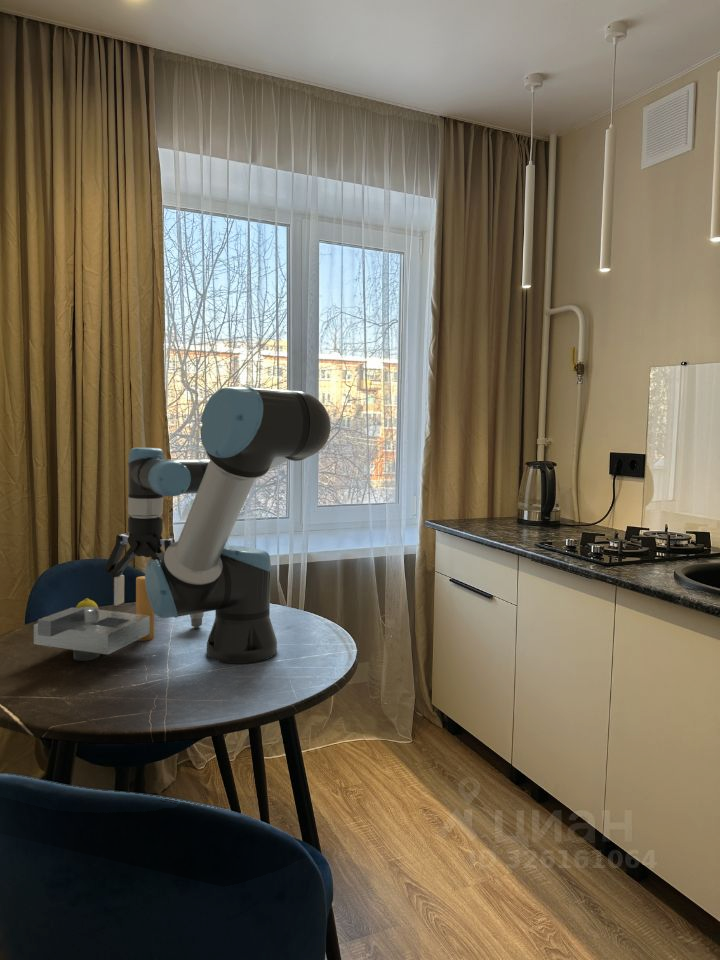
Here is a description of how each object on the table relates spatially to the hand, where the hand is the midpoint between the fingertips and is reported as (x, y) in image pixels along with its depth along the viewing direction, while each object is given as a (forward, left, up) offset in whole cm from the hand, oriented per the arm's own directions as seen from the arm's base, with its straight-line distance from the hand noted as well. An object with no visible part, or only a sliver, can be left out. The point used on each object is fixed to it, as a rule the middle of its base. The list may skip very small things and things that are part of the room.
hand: (144, 607), depth 151 cm
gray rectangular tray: (+2, +18, -7) cm, 19 cm away
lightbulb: (-7, -11, -7) cm, 15 cm away
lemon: (+15, +1, -7) cm, 16 cm away
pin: (0, 0, -7) cm, 7 cm away
